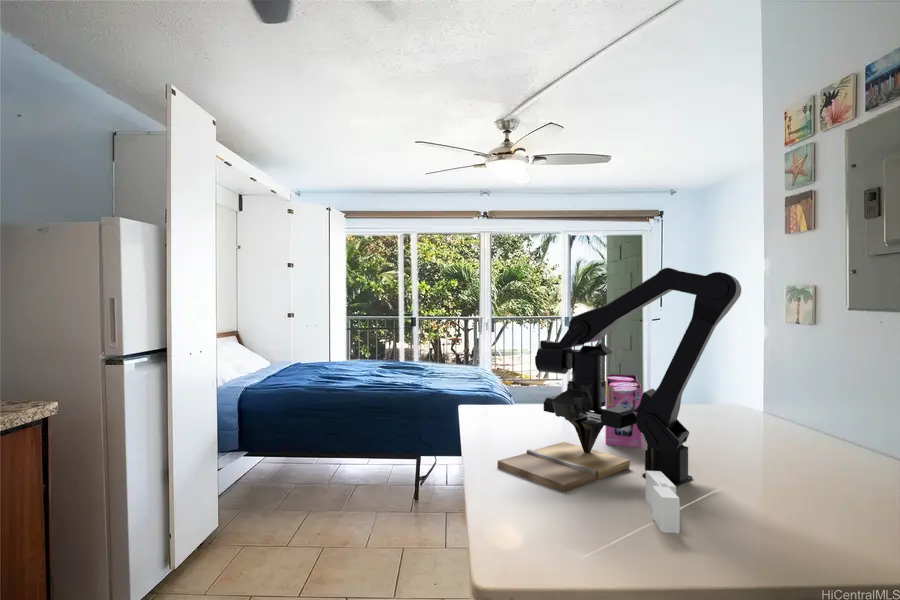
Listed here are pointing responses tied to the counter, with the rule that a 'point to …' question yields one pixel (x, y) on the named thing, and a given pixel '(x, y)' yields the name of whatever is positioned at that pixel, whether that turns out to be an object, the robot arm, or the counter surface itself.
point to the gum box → (624, 395)
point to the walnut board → (548, 470)
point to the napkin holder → (663, 501)
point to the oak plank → (587, 458)
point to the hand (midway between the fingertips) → (587, 452)
